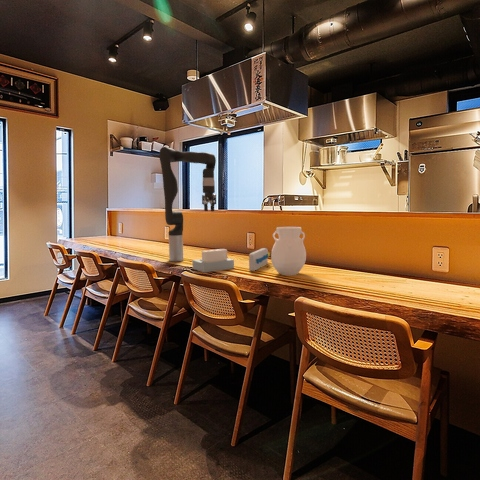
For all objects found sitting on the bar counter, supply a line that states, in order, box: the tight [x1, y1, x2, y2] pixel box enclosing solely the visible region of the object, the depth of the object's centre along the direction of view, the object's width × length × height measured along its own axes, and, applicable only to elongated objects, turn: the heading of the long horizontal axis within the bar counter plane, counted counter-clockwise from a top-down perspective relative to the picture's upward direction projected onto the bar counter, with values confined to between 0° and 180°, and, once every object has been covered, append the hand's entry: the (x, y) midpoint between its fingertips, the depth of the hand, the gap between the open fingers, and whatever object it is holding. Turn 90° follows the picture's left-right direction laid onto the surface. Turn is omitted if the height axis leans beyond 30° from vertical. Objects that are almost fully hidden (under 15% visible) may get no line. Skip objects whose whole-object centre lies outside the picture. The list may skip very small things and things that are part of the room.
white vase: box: [270, 226, 307, 276], centre depth 184 cm, size 19×18×25 cm
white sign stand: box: [201, 248, 228, 262], centre depth 200 cm, size 5×14×10 cm, turn 124°
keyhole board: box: [192, 257, 235, 273], centre depth 202 cm, size 14×20×5 cm
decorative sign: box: [248, 247, 271, 272], centre depth 206 cm, size 32×4×10 cm, turn 158°
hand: (209, 211), depth 218 cm, fingers open, 8 cm apart
